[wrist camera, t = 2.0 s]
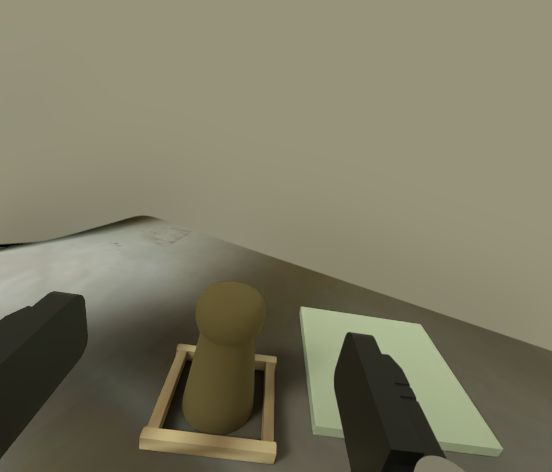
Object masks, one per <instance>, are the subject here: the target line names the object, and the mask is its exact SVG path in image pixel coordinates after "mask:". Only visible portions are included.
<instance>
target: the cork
mask: <svg viewBox="0 0 552 472" xmlns="http://www.w3.org/2000/svg"><path fill="white" fill-rule="evenodd" d="M266 315H267V311H266V305H265V301H264V299H263V297H262V295H261V294H260V293H259V291H257V290H256V289H255V288H253V287H251V286H249V285H247V284H244V283H240V282H233V281H227V282H219V283H216V284H213V285H211V286H210V287H208V288H207V289H206V290H205V291H204V292H203V293H202V294H201V296H200V297H199V299H198V302H197V304H196V314H195V320H196V324H197V327H198V329H199V332H200V335H199V339H198V343H197V346H196V350H195V354H194V357H193V361H192V365H191V368H190V372H189V376H188V379H187V383H186V387H185V391H184V394H183V400H182V410H183V413H184V417H185V418H186V420H187V421H188V422H189V424H190V425H191V426H192V427H193V428H195V429H197V430H198V431H200V432H201V433H205V434H210V435H226V434H228V433H231V432H233V431H236V430H238V429H239V428H240V427H241V426H242V425H244V424H245V423H246V422H247V420H248V419H249V417H250V415H251V414H252V409H253V405H254V372H255V339H256V337H257V336H258V335H259V334H260V333H261V331H262V329H263V327H264V323H265V319H266Z"/></svg>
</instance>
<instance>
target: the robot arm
mask: <svg viewBox="0 0 552 472" xmlns="http://www.w3.org/2000/svg"><path fill="white" fill-rule="evenodd" d="M87 340H88V333H87V320H86V308H85V299H84V297H83V296H82V295H78V294H71V293H63V292H56V291H53V292H50V293H49V294H47V295H46V296H45V297H44V298H42V299H41V300H40V301H39V302H37V303H36V304H35V305H34V306H32V307H31V306H27V307H25V308H23V309H20V310H18V311H16V312H14V313H12V314H10V315H7V316H5V317H4V318H3V319H1V320H0V459H1V457H2V456H3V455H4V453H5V452H6V451H7V450H8V448H9V447H10V446H11V445H12V443H13V442H14V441H15V440H16V438H17V437H18V436H19V435H20V433H21V432H22V431H23V430H24V428H25V427H26V426H27V425H28V423H29V422H30V421H31V420H32V418H33V417H34V416H35V414H36V413H37V412H38V411H39V409H40V408H41V407H42V406H43V404H44V403H45V402H46V401H47V399H48V398H49V397H50V396H51V394H52V393H53V392H54V391H55V389H56V388H57V387H58V386H59V384H60V383H61V382H62V380H63V379H64V378H65V377H66V375H67V374H68V373H69V372H70V370H71V369H72V368H73V367H74V365H75V364H76V363H77V362H78V360H79V359H80V358H81V356H82V354H83V353H84V350H85V348H86V345H87ZM334 391H335V396H336V401H337V405H338V410H339V415H340V420H341V424H342V429H343V434H344V439H345V443H346V448H347V453H348V458H349V462H350V467H351V472H465V471H464V470H463V469H461V468H460V467H459V466H457V465H456V464H454V463H453V462H451V461H449V460H447V459H446V457H445V455H444V453H443V451H442V449H441V447H440V445H439V443H438V441H437V439H436V437H435V435H434V433H433V431H432V429H431V427H430V424H429V422H428V420H427V418H426V416H425V414H424V412H423V410H422V408H421V406H420V404H419V402H418V401H416V396H415V394H414V392H413V390H412V388H410V384H409V382H408V380H407V378H406V376H405V374H404V372H403V370H402V368H401V367H400V366H399V365H398V364H397V363H396V362H395V361H394V359H393V358H392V357H391V356H390V355H388V354H382V353H381V351H380V349H379V347H378V344H377V342H376V340H375V338H374V336H373V335H368V334H360V333H353V332H348V333H347V334H346V336H345V338H344V342H343V345H342V348H341V351H340V355H339V358H338V361H337V364H336V368H335V372H334Z"/></svg>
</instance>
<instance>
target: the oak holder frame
mask: <svg viewBox="0 0 552 472" xmlns="http://www.w3.org/2000/svg"><path fill="white" fill-rule="evenodd" d="M195 350H196V346H194V345H187V344H178V346H177V349H176V357H175V359H174V362H173V364H172V367H171V369H170V372H169V374H168V376H167V379H166V381H165V384H164V386H163V389H162V391H161V394H160V396H159V399H158V401H157V403H156V406H155V408H154V411H153V413H152V416H151V418H150V421H149V423H148V426H147V427H144V428H143V430H142V433H141V435H140V438H139V449H145V450H153V451H162V452H171V453H179V454H188V455H197V456H206V457H214V458H223V459H232V460H240V461H249V462H258V463H267V464H274V461H275V457H276V442H274V372H275V367H276V363H277V357H274V356H266V355H259V354H255V370H261V371H264V387H263V408H262V429H261V441H260V440H252V439H244V438H235V437H227V436H219V435H210V434H202V433H194V432H185V431H177V430H168V429H162V426H163V423H164V421H165V418H166V415H167V412H168V409H169V407H170V404H171V401H172V398H173V396H174V393H175V390H176V387H177V384H178V382H179V379H180V376H181V373H182V371H183V368H184V365H185V362H186V361H193V357H194V354H195Z"/></svg>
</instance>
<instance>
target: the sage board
mask: <svg viewBox="0 0 552 472" xmlns="http://www.w3.org/2000/svg"><path fill="white" fill-rule="evenodd" d="M299 314H300V323H301V332H302V341H303V350H304V360H305V369H306V378H307V387H308V396H309V405H310V414H311V423H312V432H313V435H322V436H330V437H338V438H344V434H343V429H342V424H341V420H340V415H339V410H338V405H337V401H336V396H335V391H334V372H335V368H336V364H337V361H338V358H339V355H340V351H341V348H342V345H343V342H344V338H345V336H346V334H347V333H348V332H353V333H360V334H368V335H373V336H374V338H375V340H376V342H377V344H378V347H379V349H380V351H381V353H382V354H388V355H390V356H391V357H392V358H393V359H394V361H395V362H396V363H397V364H398V365H399V366H400V367H401V368H402V370H403V372H404V374H405V376H406V378H407V380H408V382H409V384H410V388H412V390H413V392H414V394H415V396H416V401H418V402H419V404H420V406H421V408H422V410H423V412H424V414H425V416H426V418H427V420H428V422H429V424H430V427H431V429H432V431H433V433H434V435H435V437H436V439H437V441H438V443H439V445H440V447H441V449H442V450H444V451H452V452H461V453H469V454H477V455H485V456H493V457H498V456H499V455H500V453H501V452H502V451H503V448H502V447H501V445H500V444H499V442H498V441H497V439H496V438H495V436H494V435H493V433H492V432H491V430H490V429H489V427H488V426H487V424H486V423H485V421H484V419H483V418H482V416H481V415H480V413H479V412H478V410H477V409H476V407H475V406H474V404H473V403H472V401H471V400H470V398H469V397H468V395H467V394H466V392H465V391H464V389H463V388H462V386H461V385H460V383H459V382H458V380H457V379H456V377H455V376H454V374H453V373H452V371H451V370H450V368H449V367H448V365H447V364H446V362H445V361H444V359H443V358H442V356H441V355H440V353H439V352H438V350H437V349H436V347H435V346H434V344H433V343H432V341H431V340H430V338H429V337H428V335H427V334H426V332H425V331H424V329H423V328H422V326H421V325H420V324H415V323H408V322H401V321H395V320H388V319H381V318H375V317H368V316H361V315H354V314H348V313H341V312H334V311H328V310H321V309H314V308H308V307H301V308H300V312H299Z"/></svg>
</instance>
